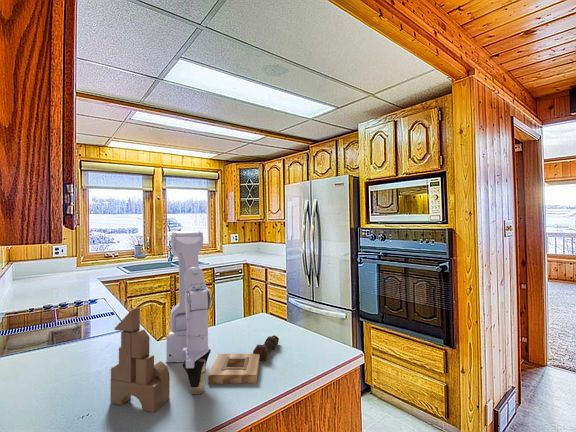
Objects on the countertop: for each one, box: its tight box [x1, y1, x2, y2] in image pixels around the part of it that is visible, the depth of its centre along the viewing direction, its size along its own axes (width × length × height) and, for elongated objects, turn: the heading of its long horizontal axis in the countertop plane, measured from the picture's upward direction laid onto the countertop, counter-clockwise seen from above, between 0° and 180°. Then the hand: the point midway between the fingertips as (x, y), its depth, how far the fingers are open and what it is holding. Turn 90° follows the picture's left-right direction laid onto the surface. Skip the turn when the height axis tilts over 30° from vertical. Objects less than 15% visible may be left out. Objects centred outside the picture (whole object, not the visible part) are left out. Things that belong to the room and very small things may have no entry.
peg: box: [189, 358, 207, 395], centre depth 87 cm, size 4×4×8 cm
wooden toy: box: [110, 306, 171, 413], centre depth 83 cm, size 15×7×25 cm, turn 73°
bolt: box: [252, 334, 280, 362], centre depth 112 cm, size 6×5×15 cm
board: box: [207, 353, 261, 384], centre depth 98 cm, size 14×14×3 cm
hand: (197, 381), depth 87 cm, fingers closed on peg, 4 cm apart
